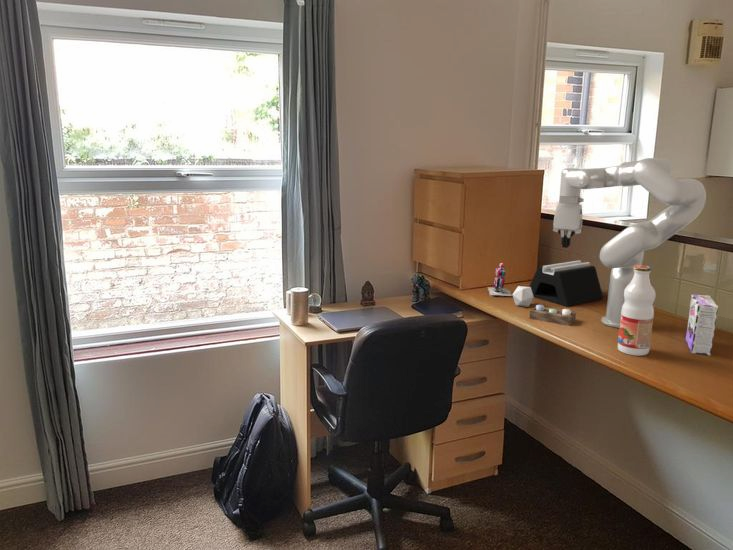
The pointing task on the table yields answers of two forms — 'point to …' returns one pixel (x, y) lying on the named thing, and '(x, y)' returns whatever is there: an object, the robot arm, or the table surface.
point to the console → (552, 316)
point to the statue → (499, 284)
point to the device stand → (567, 284)
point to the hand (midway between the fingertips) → (565, 247)
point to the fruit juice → (637, 314)
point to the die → (523, 296)
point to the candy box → (701, 324)
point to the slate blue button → (540, 307)
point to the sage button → (553, 311)
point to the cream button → (566, 312)
